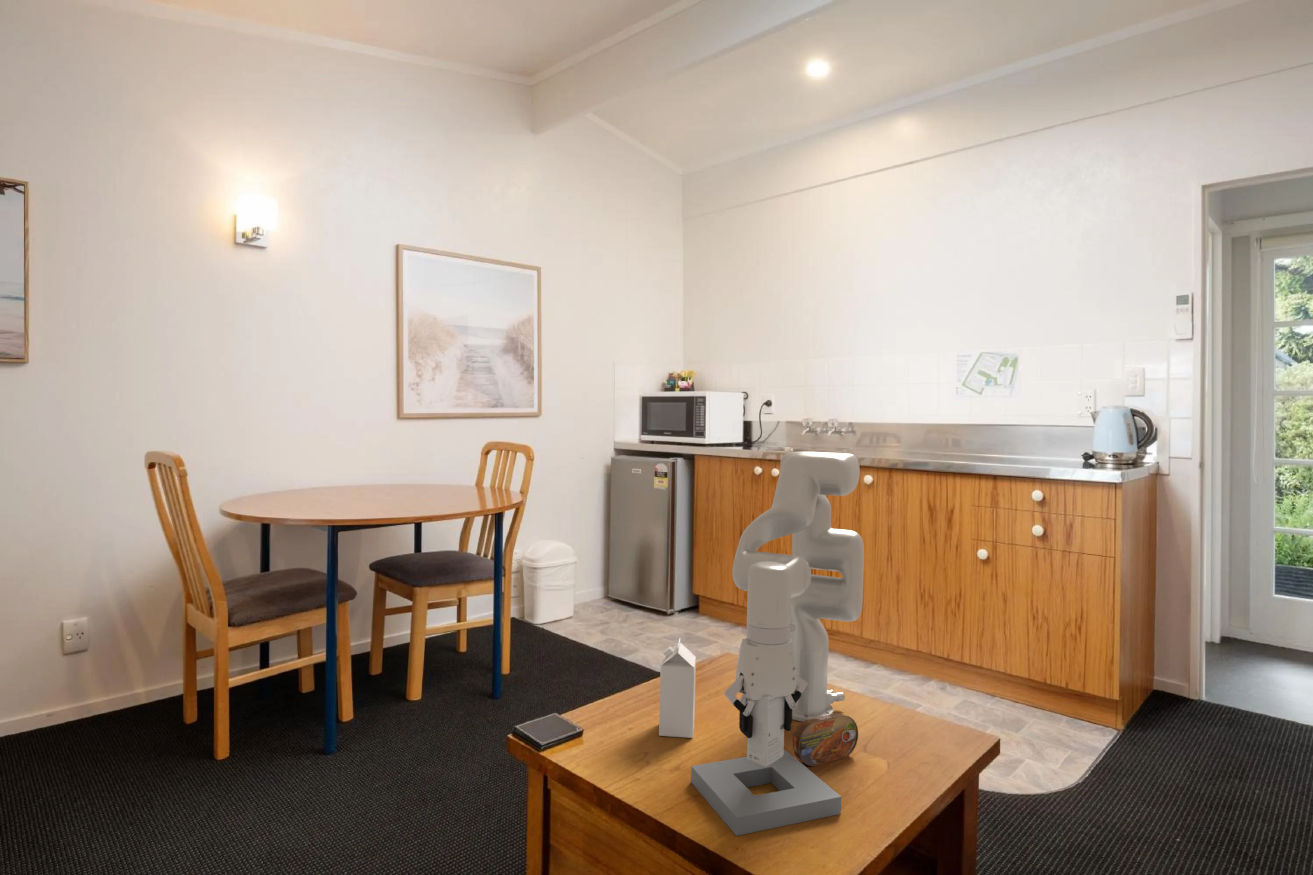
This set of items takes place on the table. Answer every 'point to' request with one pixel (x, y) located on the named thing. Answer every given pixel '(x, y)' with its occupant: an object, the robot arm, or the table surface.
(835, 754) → the tin
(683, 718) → the milk carton
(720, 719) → the table surface
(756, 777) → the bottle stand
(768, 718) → the skincare box
